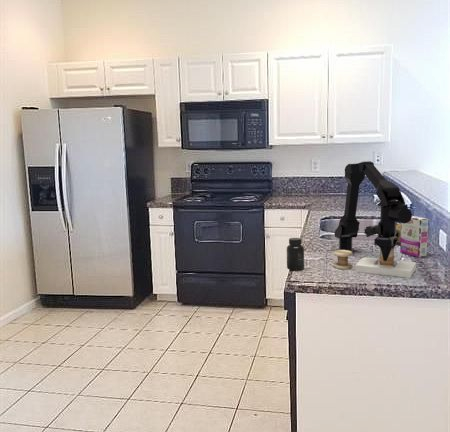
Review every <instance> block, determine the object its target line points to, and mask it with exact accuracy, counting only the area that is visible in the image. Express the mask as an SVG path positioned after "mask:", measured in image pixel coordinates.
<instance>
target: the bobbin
mask: <svg viewBox="0 0 450 432" xmlns="http://www.w3.org/2000/svg"><path fill="white" fill-rule="evenodd" d="M333 255H334V256H335V257H337V261H335V262H334V263H333V268H335V269H337V270H349V269H352V267H353V264H352V263H351V262H349V257H352V256H353V251H352V252H351V251H348V250H337V249H336V250H334V251H333Z"/></svg>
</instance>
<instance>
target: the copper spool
mask: <svg viewBox="0 0 450 432" xmlns="http://www.w3.org/2000/svg"><path fill="white" fill-rule="evenodd" d="M394 264H395V248H394V249H392V250H391V252H390V254H389V257H388V259H387V261H384V260H383V256H382V252H381V248H379V265H385V266H394Z"/></svg>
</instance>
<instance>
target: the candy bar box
mask: <svg viewBox="0 0 450 432" xmlns="http://www.w3.org/2000/svg"><path fill="white" fill-rule="evenodd" d="M400 224H401V244H399V245H400V249H399V252H400V253H401V254H404V255H408V256H412V257H415V258H418V259H419V258H427V257H428V246H429V243H428V242H429V229H430V228H429V224H430V219H429V218H427V217H421V216H417V215H412V218H411V220H410V221H409V222H408V223H405V224H404V223H400Z"/></svg>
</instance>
